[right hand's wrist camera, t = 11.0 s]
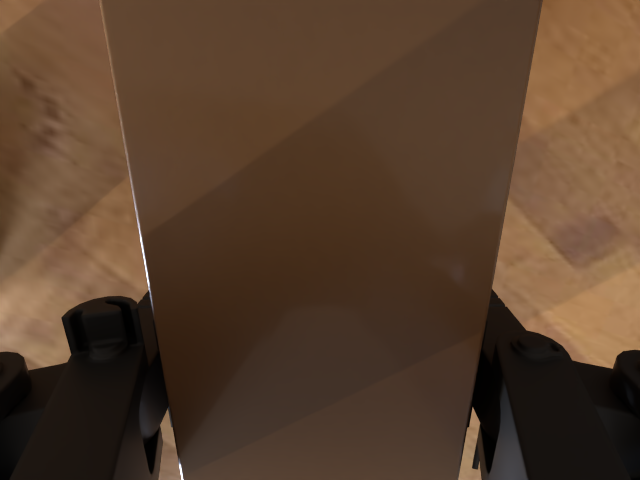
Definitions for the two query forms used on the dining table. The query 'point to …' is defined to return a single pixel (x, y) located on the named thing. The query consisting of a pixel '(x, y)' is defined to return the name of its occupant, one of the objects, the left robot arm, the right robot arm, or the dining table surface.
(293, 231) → the post
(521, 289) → the dining table surface
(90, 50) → the dining table surface
